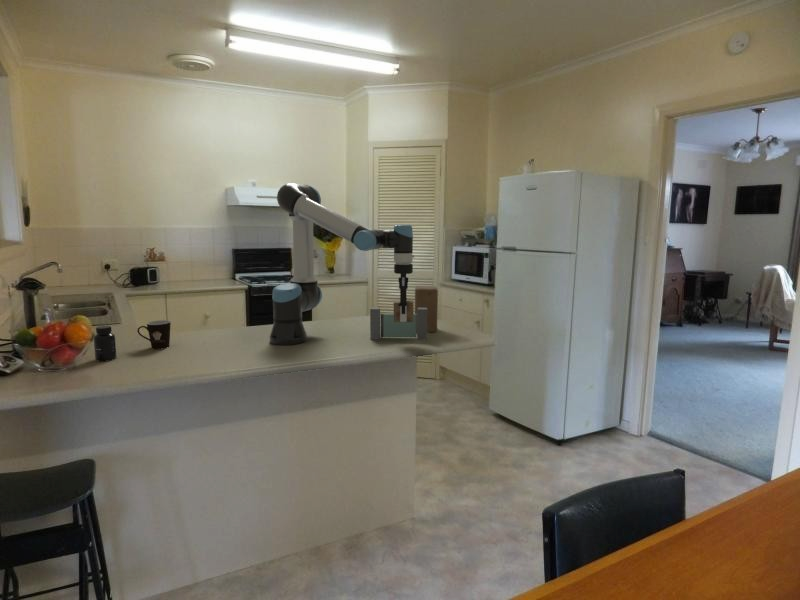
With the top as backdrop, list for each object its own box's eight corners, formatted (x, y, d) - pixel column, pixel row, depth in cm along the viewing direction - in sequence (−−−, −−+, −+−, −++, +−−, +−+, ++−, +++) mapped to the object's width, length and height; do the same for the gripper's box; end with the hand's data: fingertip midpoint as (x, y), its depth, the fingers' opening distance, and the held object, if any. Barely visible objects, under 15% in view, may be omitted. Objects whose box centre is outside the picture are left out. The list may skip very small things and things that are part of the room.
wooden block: (437, 333, 229) (437, 288, 226) (414, 333, 229) (415, 288, 226) (436, 328, 239) (436, 285, 236) (414, 328, 239) (414, 285, 236)
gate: (380, 337, 219) (380, 314, 217) (380, 336, 220) (380, 313, 218) (416, 337, 218) (416, 314, 217) (416, 336, 220) (416, 313, 218)
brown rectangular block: (393, 322, 208) (393, 302, 206) (394, 319, 212) (394, 300, 211) (413, 322, 207) (413, 302, 206) (413, 319, 212) (413, 300, 211)
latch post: (417, 339, 217) (417, 309, 215) (417, 337, 221) (417, 307, 219) (426, 339, 217) (427, 309, 215) (426, 337, 221) (426, 307, 219)
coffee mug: (177, 345, 207) (175, 321, 205) (162, 350, 199) (160, 325, 197) (153, 343, 210) (151, 319, 208) (137, 348, 202) (135, 323, 200)
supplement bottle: (93, 362, 182) (89, 329, 180) (98, 357, 189) (95, 325, 187) (114, 360, 184) (111, 328, 182) (119, 356, 191) (116, 324, 189)
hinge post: (370, 339, 218) (370, 309, 215) (371, 336, 222) (370, 307, 219) (379, 339, 217) (379, 309, 215) (380, 337, 221) (380, 307, 219)
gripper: (412, 265, 197) (412, 324, 201) (412, 261, 215) (412, 315, 219) (393, 265, 197) (393, 324, 201) (394, 261, 215) (394, 315, 219)
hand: (403, 320), depth 210 cm, fingers closed on brown rectangular block, 5 cm apart
